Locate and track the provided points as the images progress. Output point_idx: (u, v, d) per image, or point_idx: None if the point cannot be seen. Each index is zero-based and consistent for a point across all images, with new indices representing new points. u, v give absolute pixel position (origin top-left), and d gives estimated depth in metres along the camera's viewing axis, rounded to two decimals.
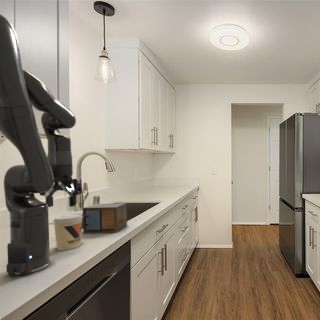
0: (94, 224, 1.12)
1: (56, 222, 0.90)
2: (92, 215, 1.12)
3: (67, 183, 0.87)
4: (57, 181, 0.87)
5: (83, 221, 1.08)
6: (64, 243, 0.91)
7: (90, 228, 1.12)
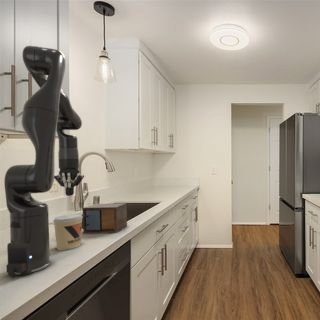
0: (94, 224, 1.12)
1: (56, 222, 0.90)
2: (92, 215, 1.12)
3: (74, 174, 1.07)
4: (66, 172, 1.07)
5: (83, 221, 1.08)
6: (64, 243, 0.91)
7: (90, 228, 1.12)
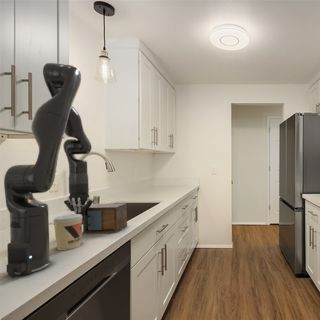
0: (96, 224, 1.12)
1: (56, 222, 0.90)
2: (94, 215, 1.12)
3: (84, 199, 1.07)
4: (76, 197, 1.07)
5: (85, 221, 1.08)
6: (64, 243, 0.91)
7: (92, 228, 1.12)
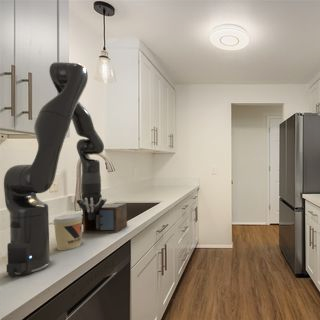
0: (108, 224, 1.12)
1: (56, 222, 0.90)
2: (106, 215, 1.12)
3: (97, 198, 1.07)
4: (89, 196, 1.07)
5: (97, 221, 1.08)
6: (64, 243, 0.91)
7: (104, 228, 1.12)
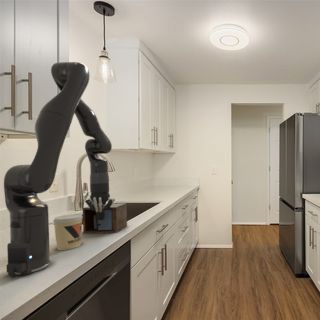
0: (106, 224, 1.12)
1: (56, 222, 0.90)
2: None
3: (106, 198, 1.07)
4: (97, 196, 1.07)
5: (95, 221, 1.08)
6: (64, 243, 0.91)
7: (102, 228, 1.12)
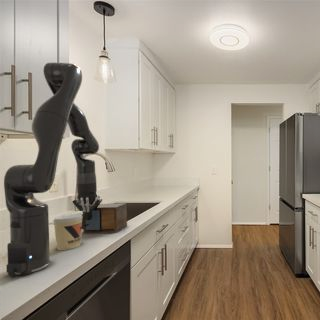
0: (94, 224, 1.12)
1: (56, 222, 0.90)
2: (92, 215, 1.12)
3: (93, 198, 1.07)
4: (85, 196, 1.07)
5: (83, 221, 1.08)
6: (64, 243, 0.91)
7: (90, 228, 1.12)
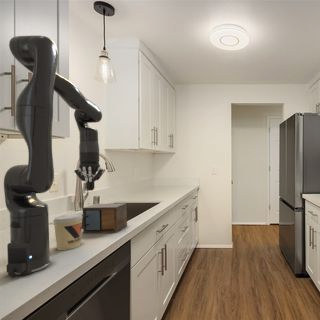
0: (94, 224, 1.12)
1: (56, 222, 0.90)
2: (92, 215, 1.12)
3: (95, 168, 1.04)
4: (87, 166, 1.04)
5: (83, 221, 1.08)
6: (64, 243, 0.91)
7: (90, 228, 1.12)
